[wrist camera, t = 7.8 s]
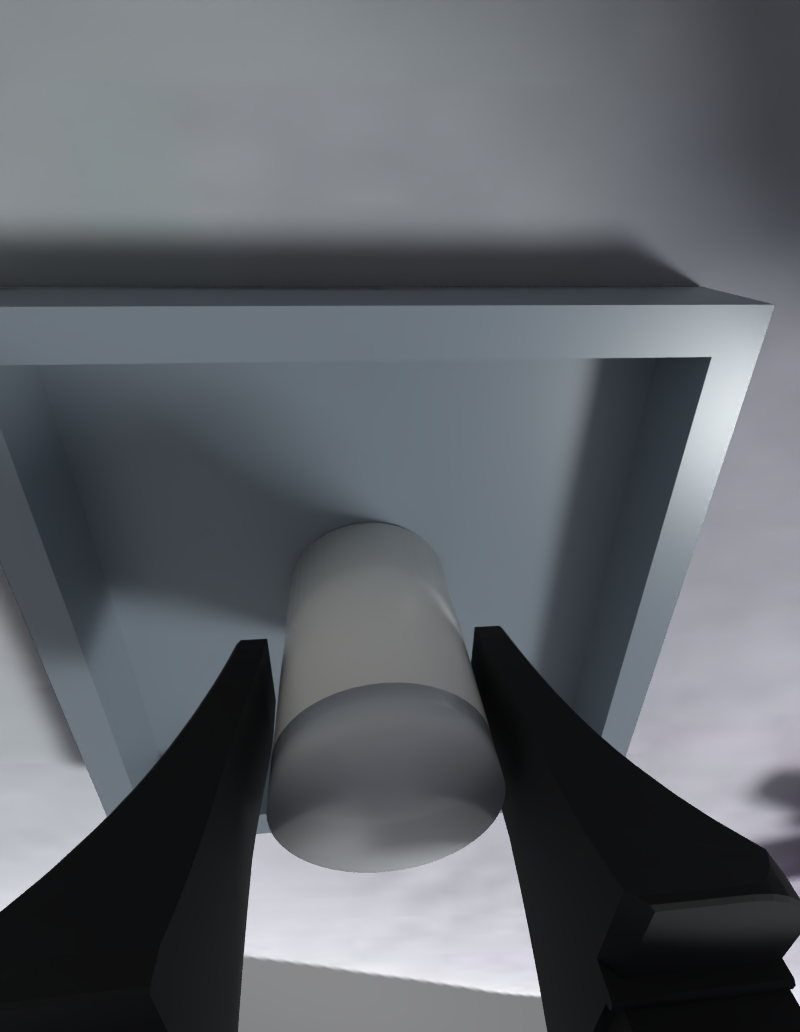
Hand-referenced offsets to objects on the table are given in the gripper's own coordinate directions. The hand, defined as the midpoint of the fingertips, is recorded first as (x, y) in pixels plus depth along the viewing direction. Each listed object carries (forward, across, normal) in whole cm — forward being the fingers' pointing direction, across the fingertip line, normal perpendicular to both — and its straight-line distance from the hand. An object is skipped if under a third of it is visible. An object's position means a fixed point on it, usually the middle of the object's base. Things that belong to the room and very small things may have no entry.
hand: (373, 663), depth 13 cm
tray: (+3, 0, 0) cm, 3 cm away
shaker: (+3, 0, 0) cm, 3 cm away
